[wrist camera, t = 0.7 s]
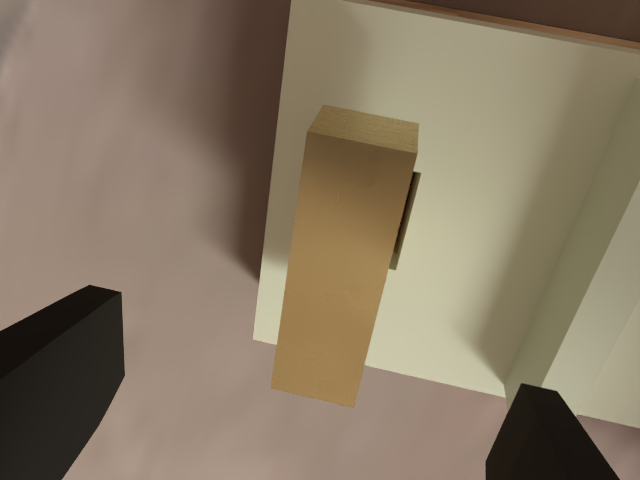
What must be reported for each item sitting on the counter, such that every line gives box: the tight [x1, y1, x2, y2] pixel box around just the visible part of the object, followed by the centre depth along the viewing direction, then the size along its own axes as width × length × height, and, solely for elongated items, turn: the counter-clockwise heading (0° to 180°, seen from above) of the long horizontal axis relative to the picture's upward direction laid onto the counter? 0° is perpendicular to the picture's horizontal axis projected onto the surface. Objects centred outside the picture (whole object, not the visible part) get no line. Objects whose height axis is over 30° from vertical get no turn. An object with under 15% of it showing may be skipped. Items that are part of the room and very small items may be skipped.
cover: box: [253, 0, 640, 428], centre depth 15 cm, size 14×11×3 cm
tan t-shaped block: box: [271, 105, 419, 408], centre depth 15 cm, size 2×7×7 cm, turn 171°
